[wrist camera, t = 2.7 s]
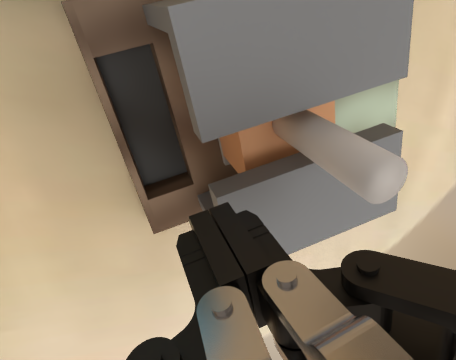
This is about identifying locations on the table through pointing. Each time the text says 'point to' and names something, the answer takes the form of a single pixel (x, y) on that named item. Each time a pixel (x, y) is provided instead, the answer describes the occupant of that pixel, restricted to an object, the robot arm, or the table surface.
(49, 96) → the table surface
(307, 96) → the tunnel
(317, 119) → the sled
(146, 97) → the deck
